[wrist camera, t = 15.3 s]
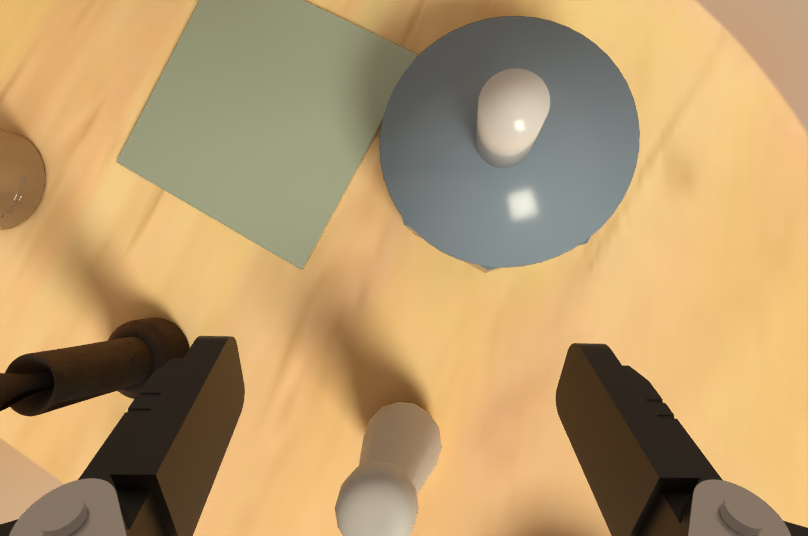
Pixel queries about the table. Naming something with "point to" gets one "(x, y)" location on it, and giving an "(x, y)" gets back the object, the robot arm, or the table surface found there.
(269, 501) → the table surface
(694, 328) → the table surface
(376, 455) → the salt shaker
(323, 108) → the rubber mat
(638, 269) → the table surface
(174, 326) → the dark brown tall piece
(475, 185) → the food cover
